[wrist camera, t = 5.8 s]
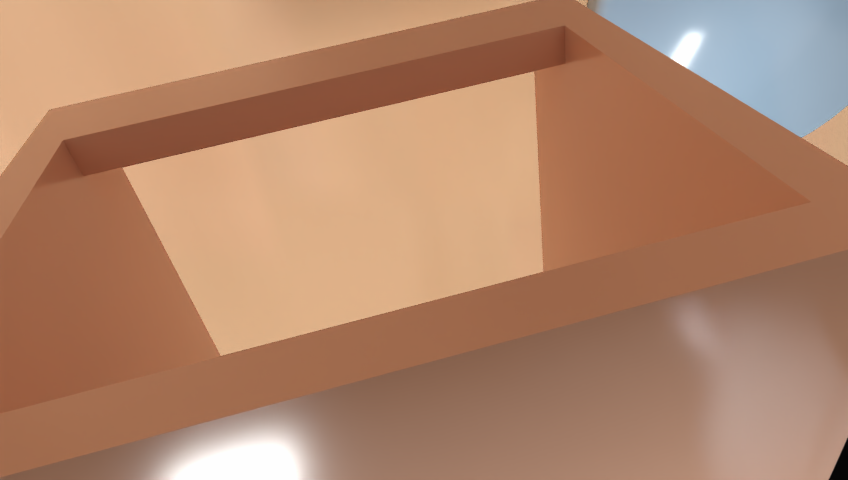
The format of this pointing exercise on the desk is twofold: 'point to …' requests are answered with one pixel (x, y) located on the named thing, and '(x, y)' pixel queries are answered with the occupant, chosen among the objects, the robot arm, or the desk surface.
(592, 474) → the container
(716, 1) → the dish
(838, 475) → the robot arm
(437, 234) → the desk surface
